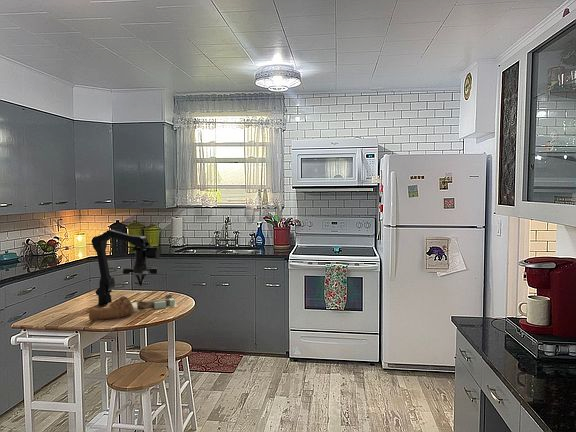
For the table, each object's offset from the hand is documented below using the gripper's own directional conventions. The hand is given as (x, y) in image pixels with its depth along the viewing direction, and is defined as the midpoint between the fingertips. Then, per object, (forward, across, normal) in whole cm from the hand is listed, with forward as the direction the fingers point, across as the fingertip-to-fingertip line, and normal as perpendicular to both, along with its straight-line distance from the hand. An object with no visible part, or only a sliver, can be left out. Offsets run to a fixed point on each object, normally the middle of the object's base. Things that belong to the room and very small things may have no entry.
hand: (140, 285), depth 268 cm
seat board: (+11, +8, -5) cm, 15 cm away
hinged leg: (+9, +9, -11) cm, 17 cm away
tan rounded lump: (+11, -8, -28) cm, 31 cm away
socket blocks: (+9, +15, -11) cm, 20 cm away
